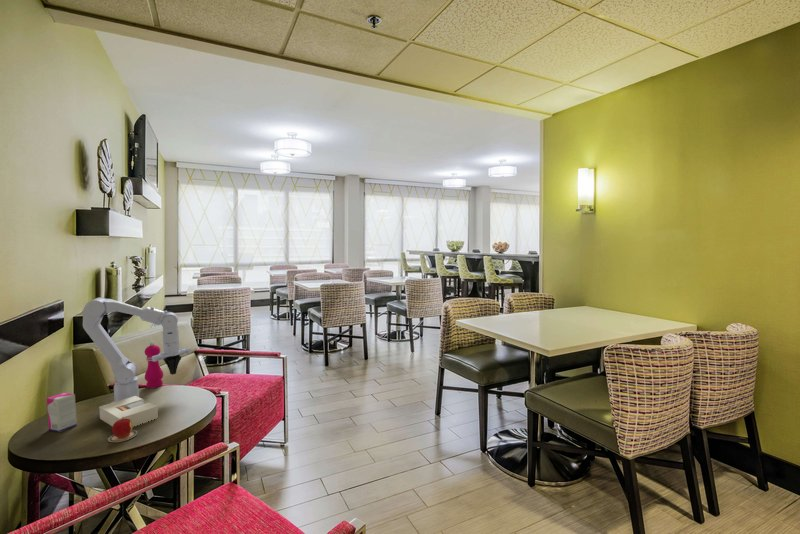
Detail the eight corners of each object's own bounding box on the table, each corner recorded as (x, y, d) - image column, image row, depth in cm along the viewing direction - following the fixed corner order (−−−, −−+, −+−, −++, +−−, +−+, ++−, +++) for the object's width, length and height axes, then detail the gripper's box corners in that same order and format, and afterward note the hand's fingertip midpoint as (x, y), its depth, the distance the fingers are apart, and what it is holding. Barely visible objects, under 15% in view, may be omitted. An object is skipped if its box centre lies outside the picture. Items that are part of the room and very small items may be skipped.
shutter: (119, 418, 147) (118, 407, 146) (122, 417, 147) (121, 406, 147) (125, 421, 144) (125, 410, 143) (129, 420, 144) (128, 409, 144)
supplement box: (77, 424, 142) (75, 393, 142) (59, 432, 137) (56, 400, 136) (66, 422, 144) (64, 391, 143) (47, 430, 139) (45, 398, 138)
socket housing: (100, 418, 147) (99, 406, 147) (136, 407, 157) (135, 395, 156) (120, 431, 137) (119, 418, 136) (158, 418, 146) (157, 406, 146)
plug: (123, 418, 147) (122, 406, 147) (141, 412, 152) (141, 401, 152) (128, 421, 145) (127, 409, 144) (147, 415, 150) (146, 403, 149)
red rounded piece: (130, 429, 138) (128, 411, 138) (142, 435, 134) (141, 416, 134) (103, 439, 131) (102, 420, 131) (115, 445, 127) (114, 426, 127)
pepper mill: (167, 384, 181) (164, 341, 180) (150, 389, 175) (147, 344, 173) (158, 381, 185) (156, 339, 183) (142, 386, 179) (139, 342, 177)
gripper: (157, 347, 158) (159, 380, 159) (193, 339, 170) (195, 370, 171) (148, 344, 162) (150, 377, 163) (185, 337, 174) (186, 367, 175)
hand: (173, 373), depth 167 cm, fingers closed
